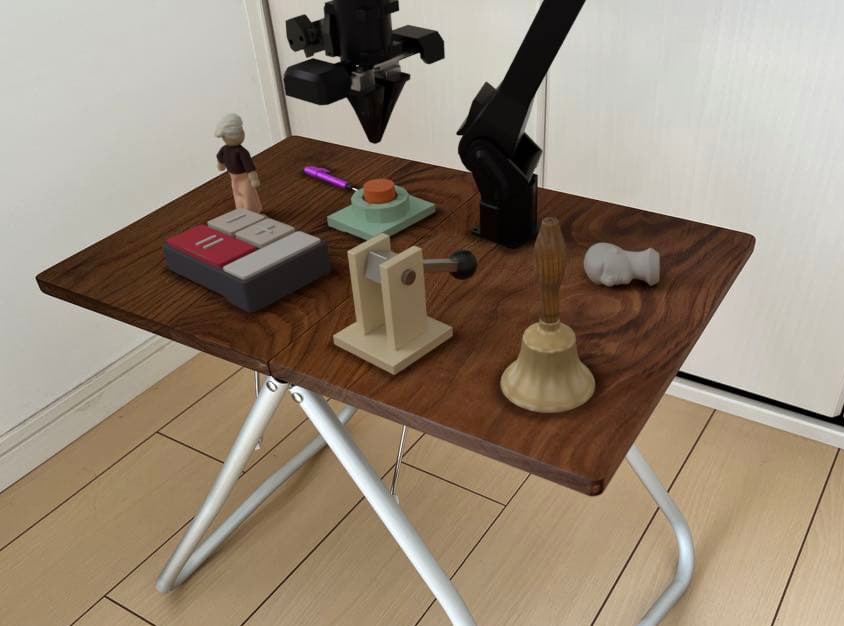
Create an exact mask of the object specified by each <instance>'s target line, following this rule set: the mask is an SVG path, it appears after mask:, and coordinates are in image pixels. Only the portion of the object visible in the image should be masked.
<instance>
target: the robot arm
mask: <svg viewBox="0 0 844 626" xmlns="http://www.w3.org/2000/svg"><path fill="white" fill-rule="evenodd" d="M586 1H587V0H542V2H541V4H540V6H539V8H538V10H537V12H536V14H535V16H534V17H533V20H532V21H531V24H530V26H529V28H528V30H527V32H526V34H525V36H524V38H523V40H522V41H521V43H520V45H519V47H518V50H517V52H516V53H515V56H514V57H513V59H512V61H511V63H510V65H509V67H508V69H507V71H506V73H505V75H504V77H503V79H502V81H501V82H500V83H499V84H498V86H496V88H495V87H494V86H493V85H492V84H491V83H490V82H488V81H485V82H484V83H483V84H482V86H481V87H480V89H479V90H478V92H477V94H476V95H475V96H474V98H473V99H472V102H471V103H470V106H469V110H468V114H467V115H466V117H465V119H464V120H463V121H462V123H461V124H460V126H459V128H458V129H457V131H456V132H455V135H456V136H460V139H459V142H458V145H457V154H458V156H459V158H460V162H461V163H462V165H463V166H464V168H465V169H466V170H467V171H468V172H469V173H471V175H472V177H473V180H474V182H475V185H476V187H477V190H478V192H479V195H480V201H479V204H478V205H479V207H478V208H479V224H477V225H476V226H474V227H472V228H471V229H470V234H471V235H473V236H475V237H478V238H480V239H484V240H486V241H489V242H492V243H494V244H497V245H500V246H502V247H506V248H508V249H511V250H516V249H518V248H520V247H521V246H523V245H525V244H526V243H528V242H529V241H531V240H533V239H534V238H537V236H538V234H539V231H540V228H541V224H542V221H539V220H538V196H539V195H538V192H539V191H538V190H539V189H538V188H539V174H538V173H534V172H535V170H536V169H537V167H538V165H539V163H540V160H541V157H542V156H543V149H542V147H540V146H539V144H537V143H536V142H535V141H534V139H533V138H532V137H530V135H528V134H527V132H526V128H527V124H528V122H529V118H530V116H531V112H532V109H533V106H534V101H535V98H536V95H537V92H538V91H539V89H540V86H541V85H542V83H543V81H544V80H545V77H546V76H547V74H548V72H549V70H550V68H551V66H552V64H553V62H554V60H555V59H556V57H557V56H558V53H559V51H560V49H561V48H562V45H563V44H564V42H565V40H566V39H567V37H568V34H569V33H570V31H571V29H572V27H573V26H574V24H575V22H576V20H577V18H578V16H579V14H580V13H581V11H582V9H583V7H584V5H585V3H586ZM399 11H400V0H328V1H326V2H324V6H323V17H322V18H320V19H317V20H314V21H311V19H310V18H309V17H308V15H307V14H300V15H297V16H294V17H291V18H288V19H286V20H285V34H286V35H285V37H286V40H287V42H288V46H289V48H290V49H291V50H292V51H293V52H294V53H298V52H300V51H303V52H304V55H305V58H306V60H303V61H300V62H296V63H295V64H292V65H289V66H287V68H286V69H285V71H284V73H283V75H282V78H283V79H282V80H283V87H284V94H285V96H287V97H290V98H294V99H296V100H301V101H303V102H307V103H309V104H313V105H317V106H329V105H332V104H334V103H337V102H339V101H342V100H344V99H347V101H348V103H349V104H350V106H351V107H352V109H353V111H354V113H355V115H356V118H357V119H358V121H359V123H360V126H361V128H362V130H363V132H364V134H365V136H366V138H367V140H368V142H369V143H370V144H373V145H376V144H379V143H381V142H382V140H383V137H384V134H385V132H386V129H387V128H388V127H387V126H388V124H389V122H390V119H391V116H392V113H393V111H394V109H395V107H396V105H397V102H398V100H399V98H400V96H401V93H402V92H403V90H404V87H405V85H406V83H407V82H409V81H410V80H411V73H408V72H404V71H402V67H401V65H400V61H402V60H405V59H407V58H410V57H413V56H415V55H418V54H419V56H420V59H421V61H423V63H424V64H426V65H432V64H434V63H437V62H439V61H442V60H444V59H446V54H445V49H446V48H445V40H444V38H443V37H442V36H441V34H440V33H439V31H438V30H435V29H431V28H425V27H421V26H416V25H412V24H406V25H403V26H400V27H398V28H397V27H396V28H394V29H393V22H392V14H395V13H397V12H399ZM323 51H324V54H325V57H328V58H336V57H337V58H339V61H337V62H330V61H326V60H321V59H318V58H314V57H313V56H315V54H317V53H320V52H323Z"/></svg>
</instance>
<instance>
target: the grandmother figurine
mask: <svg viewBox="0 0 844 626" xmlns="http://www.w3.org/2000/svg"><path fill="white" fill-rule="evenodd" d="M243 125H244V122H243V120H242V117H241V116H240V115H238V114H236V113H234V112H232V113H228V114H225V115H223V116H222V117H221V118H220V119H219V120H218V122H217V124H216V126H215V130H214V133H213V135H214V137H215V138H217V139H220V138H221V140H222V141H223V142H224V143H225V144H224V145H223V146H221V147H220V149H219V150H218V152H217V153H216V156H215V157H216V160H217V161H216V162H217V164H216V168H217V170H218V171H220V172H224V171H225V170H226V171H227V172H228V174H229V175H230V179H231V188H232V194H233V199H234V202H235V208H236V209H238V208H244V209H246V210H249V211H252V212H254V213H257V214H260V215H262V216H264V217H265V218H266V219H268V218H269V216H268V215H266V214H265V213H261V212H262V211H263V206H262V202H261V200H260V196H259V193H258V190H257V189H258V188H260V187H261V181H260V180H259V175H258V173H257V168H256V166H255V163H254V162H253V159H252V156H251V153H250V151H249V150H248V149H247V148H246V147H244V146H243V145H242V144H243V143H244V142H245V138H246V133H245V130H244V128H243ZM236 209H235V210H236Z"/></svg>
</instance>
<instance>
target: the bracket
mask: <svg viewBox="0 0 844 626" xmlns="http://www.w3.org/2000/svg"><path fill="white" fill-rule="evenodd" d="M391 246H392V245H391V236H389V235H386V234H384V233H381V234H379V235H377V236H375V237H373V238H372V239H370V240H365V241H364V242H362V243H360V244H358V245H357V246H355V247H353V248H350V249H349V250H347V258H348V266H349V275H350V281H351V290H352V296H353V297H352V298H353V305H354V312H355V320H356V321H355V322H353V323H352V324H350V325H348V326H346V327H345V328H343V329H341V330H339V331H338V332H337V333H335V334H333V335H332V336H333V337H332V338H333V344H334V345H335V346H337V347H339V348H341V349H343V350H345V351H347V352H349V353H350V354H352V355H354V356H356V357H358V358H360V359H362V360H364V361H366V362H368V363H370V364H372V365H374V366H376V367H377V368H379V369H381V370H383V371H386V372H388V373H390V374H391V375H392V376H393V375H394V376H396V375H397V374H399V373H400V372H401V371H404V370H405V369H406V368H407V367H409V366H411V365H412V364H413V363H415V362H417V361H418V360H419V359H421V358H422V357H424V356H425V355H427V354H428V353H429V352H431V351H433V350H434V349H436V348H437V347H439V346H440V345H441V344H443V343H445V342H446V341H447V340H449V339H450V338H452V337H453V336H454V333H453V327H452V326H451V325H449V324H446V323H444V322H442V321H439V320H437V319H435V318H433V317H431V316H429V315H428V314H427V298H426V287H425V284H426V283H425V273H424V270H423V260H424V257H423V248H421V247H419V246H416V245H412V246H410V247H409V248H407V249H405V250H403V251H401V252H400V253H397V254H398V255H396V256H394V257H393V258H391V259H389V260H387V261H386V262H384V263H382V264H380V265H379V266H380V276H381V284H379V283H376V282H374V281H372V280H370V279H367V278H365V273H366V268H367V262H368V257H369V252H370V251H392V248H391Z"/></svg>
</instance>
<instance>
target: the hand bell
mask: <svg viewBox="0 0 844 626" xmlns="http://www.w3.org/2000/svg"><path fill="white" fill-rule="evenodd" d="M541 222H542V224H541V228H540V231H539V234H538V235H537V236H536V240H535V242H534V246H533V267H534V268H533V269H534V275H535V278H536V282H537V284H538V289H539V312H538V316H539V321H538V322H535V323H533V324H531V325H529V326H528V327H527V328H526V329H525V330H524V332H523V334H522V339H521V346H520V347H521V348H520V350H519V353H518V357H517V359H516V360H514V361H513V362H511V364H509V365H508V366H507V367H506V369H505V370H504V371H503V373H502V375H501V378H500V390H501V391H502V394H503V395H504V396H505V398H507V399H508V401H510V402H511V403H513V404H514V405H516V406H518V407H519V408H522V409H525V410H528V411H532V412H537V413H544V414H545V413H549V414H553V413H562V412H563V413H564V412H567V411H571V410H573V409H577V408H578V407H581V406H582V405H584V404H586V402H588V401H589V400H590V399H591V398H592V396H593V395H594V393H595V390H596V381H595V378H594V375H593V373H592V372H591V370H590V369H589V367H587V365H586V364H584V363H583V362H582V361H581V360H580V358H579V354H578V348H577V347H578V346H577V338H576V334H575V331H574V330H573V329H572V328H571V327H570V326H568V324H565V323H563V322H561V315H560V289H561V285H562V282H563V280H564V276H565V274H566V273H565V272H566V267H567V247H566V242H565V238H564V235H563V232H562V230H561V226H560V221H559V219H558V218H556V217H554V216H547V217H544V218H543V219H542V220H541Z"/></svg>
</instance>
